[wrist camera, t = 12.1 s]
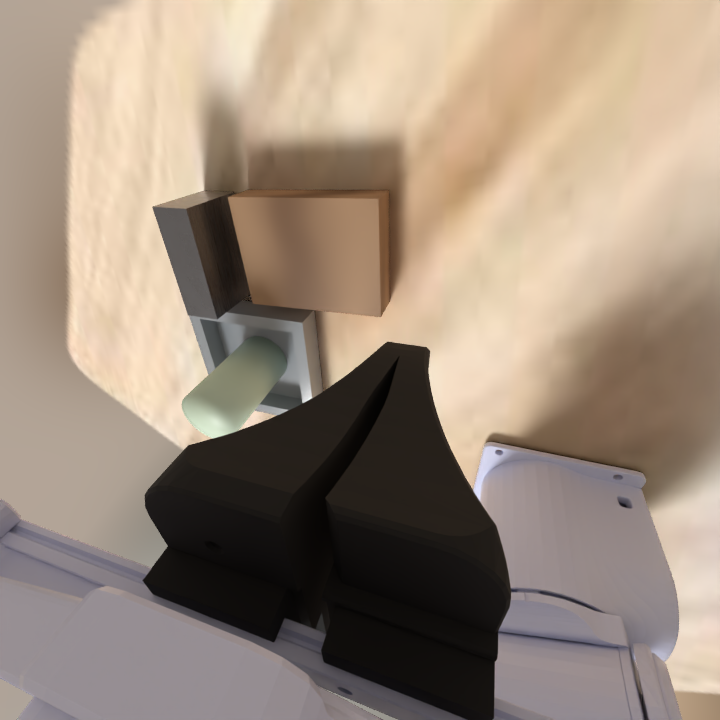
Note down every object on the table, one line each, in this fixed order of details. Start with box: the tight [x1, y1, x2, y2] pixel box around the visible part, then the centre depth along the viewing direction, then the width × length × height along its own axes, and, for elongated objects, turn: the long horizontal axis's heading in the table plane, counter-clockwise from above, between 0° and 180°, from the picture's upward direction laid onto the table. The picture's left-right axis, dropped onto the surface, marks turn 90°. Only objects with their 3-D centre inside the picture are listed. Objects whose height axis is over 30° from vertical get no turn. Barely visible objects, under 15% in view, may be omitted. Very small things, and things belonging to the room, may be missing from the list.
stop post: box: [153, 191, 250, 319], centre depth 21 cm, size 2×6×4 cm, turn 2°
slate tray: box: [189, 300, 323, 415], centre depth 26 cm, size 8×8×2 cm
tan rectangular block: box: [228, 190, 390, 317], centre depth 20 cm, size 8×6×2 cm
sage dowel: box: [182, 336, 287, 438], centre depth 24 cm, size 4×4×6 cm
